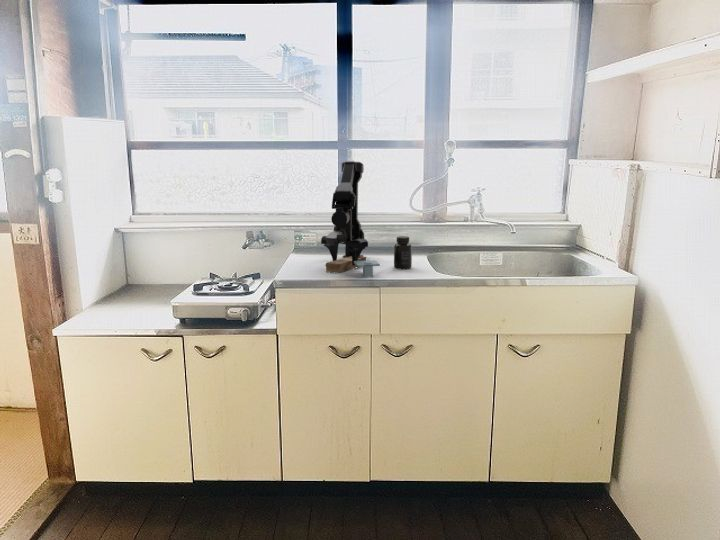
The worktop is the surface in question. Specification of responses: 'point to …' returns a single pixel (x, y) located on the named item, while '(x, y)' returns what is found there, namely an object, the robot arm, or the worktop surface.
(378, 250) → the worktop surface
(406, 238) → the supplement bottle
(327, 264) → the link
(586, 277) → the worktop surface
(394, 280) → the worktop surface
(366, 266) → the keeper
